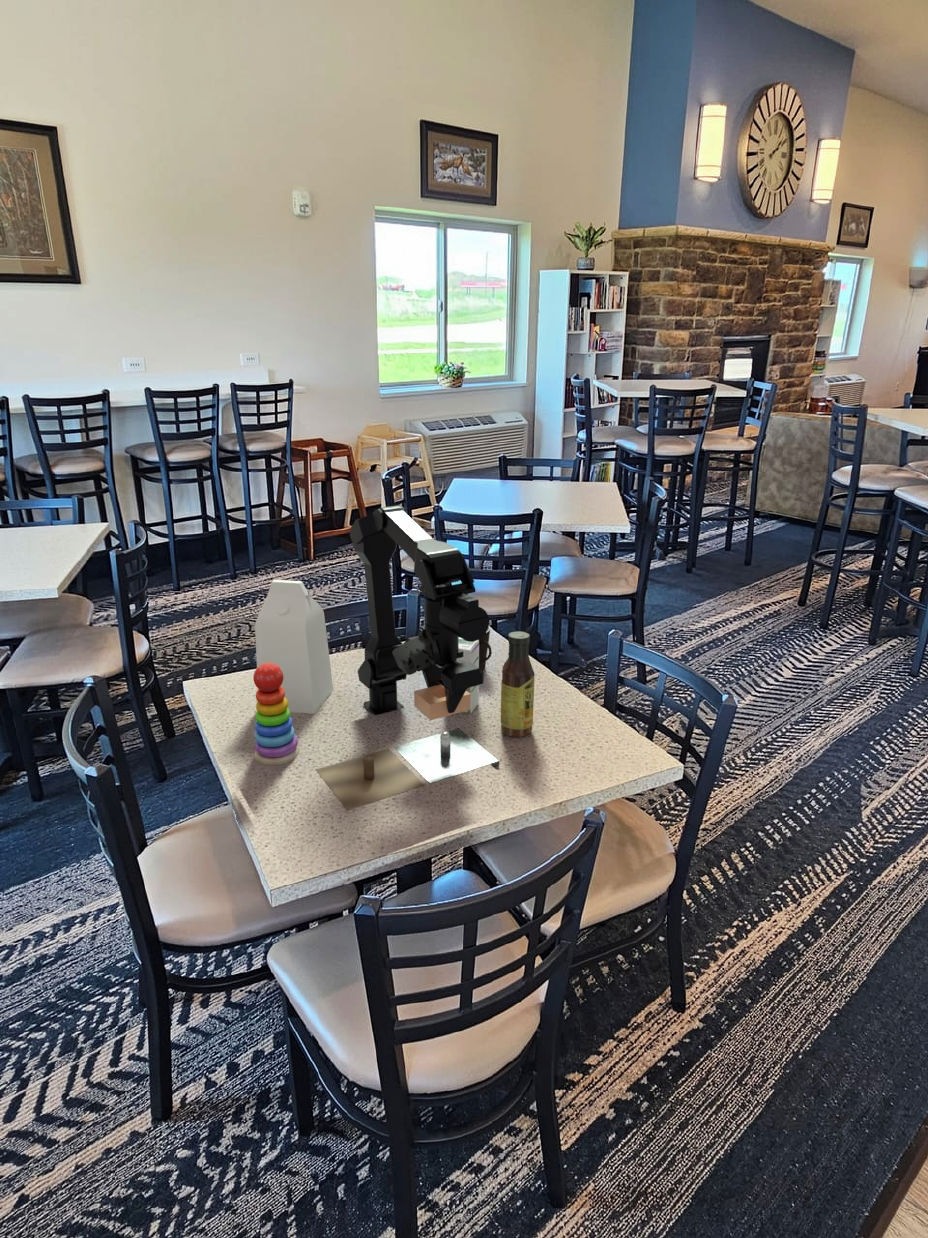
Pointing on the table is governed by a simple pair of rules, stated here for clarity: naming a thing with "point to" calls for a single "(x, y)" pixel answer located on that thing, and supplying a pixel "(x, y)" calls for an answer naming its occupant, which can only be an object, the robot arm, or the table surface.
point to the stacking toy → (273, 718)
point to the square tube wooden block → (438, 702)
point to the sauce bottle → (517, 687)
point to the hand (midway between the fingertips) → (442, 705)
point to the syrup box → (472, 655)
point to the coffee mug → (484, 649)
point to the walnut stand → (368, 778)
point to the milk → (295, 644)
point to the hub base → (446, 764)
